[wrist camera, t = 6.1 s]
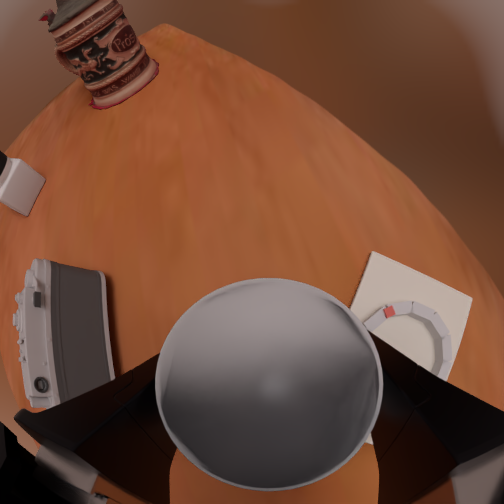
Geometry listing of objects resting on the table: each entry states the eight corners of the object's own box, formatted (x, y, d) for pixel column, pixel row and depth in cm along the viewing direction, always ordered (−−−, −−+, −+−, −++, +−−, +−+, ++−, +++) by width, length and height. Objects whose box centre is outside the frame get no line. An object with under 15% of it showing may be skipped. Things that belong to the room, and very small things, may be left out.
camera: (112, 265, 26) (22, 244, 18) (131, 422, 21) (33, 434, 12) (78, 287, 30) (7, 273, 22) (92, 412, 25) (16, 416, 16)
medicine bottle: (31, 176, 38) (-10, 143, 26) (47, 179, 36) (1, 142, 25) (14, 210, 36) (-30, 181, 25) (28, 217, 34) (-22, 185, 23)
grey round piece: (303, 421, 15) (306, 518, 5) (222, 379, 17) (124, 417, 6) (348, 340, 16) (421, 334, 6) (265, 300, 18) (219, 239, 7)
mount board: (406, 451, 18) (416, 460, 15) (296, 414, 21) (296, 423, 18) (468, 299, 21) (482, 294, 19) (370, 253, 24) (377, 243, 22)
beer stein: (173, 81, 41) (140, 52, 46) (141, -55, 14) (111, -47, 19) (91, 129, 38) (75, 90, 43) (20, 4, 12) (26, -4, 16)
